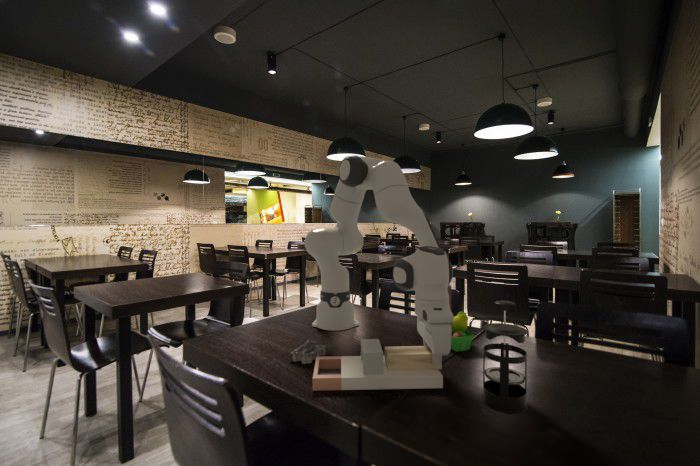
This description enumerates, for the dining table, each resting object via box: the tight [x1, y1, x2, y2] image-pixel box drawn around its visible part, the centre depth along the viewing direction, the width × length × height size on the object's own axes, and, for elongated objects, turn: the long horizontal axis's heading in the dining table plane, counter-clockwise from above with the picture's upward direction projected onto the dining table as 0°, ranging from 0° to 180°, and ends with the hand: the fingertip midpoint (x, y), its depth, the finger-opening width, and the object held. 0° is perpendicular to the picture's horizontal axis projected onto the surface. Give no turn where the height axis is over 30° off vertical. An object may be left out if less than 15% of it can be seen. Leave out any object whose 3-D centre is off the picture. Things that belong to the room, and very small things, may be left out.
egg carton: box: [289, 338, 328, 365], centre depth 106 cm, size 11×8×4 cm
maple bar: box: [384, 345, 443, 370], centre depth 92 cm, size 6×14×4 cm, turn 92°
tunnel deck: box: [312, 338, 444, 392], centre depth 92 cm, size 14×32×8 cm, turn 92°
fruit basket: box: [451, 311, 475, 353], centre depth 115 cm, size 11×9×11 cm
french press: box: [481, 300, 529, 415], centre depth 79 cm, size 12×9×23 cm
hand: (431, 359), depth 92 cm, fingers closed on maple bar, 6 cm apart
